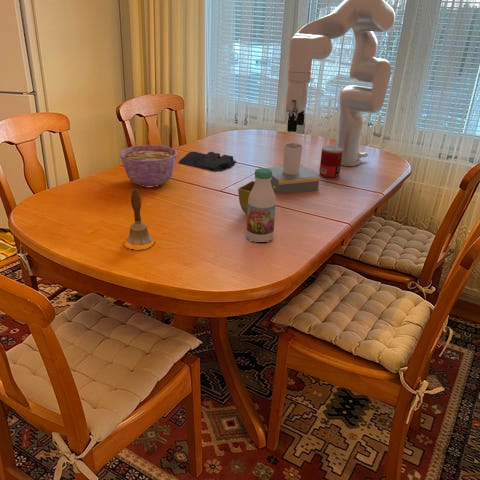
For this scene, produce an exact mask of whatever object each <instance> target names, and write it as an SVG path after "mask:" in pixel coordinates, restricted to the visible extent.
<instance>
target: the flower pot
mask: <svg viewBox="0 0 480 480" xmlns="http://www.w3.org/2000/svg"><path fill="white" fill-rule="evenodd" d="M254 184H255V181H254V180H251V181H249V182H248V183H246V184H243V185H241V186H240V187H238V188H237V194H238V201H239V205H240V208H241V210H242V211H243V213H244V214H245V215H247V209H248V198H249V194H250V192H251V190H252V188H253V186H254ZM271 186H272V185H271ZM272 189H273V191H274V193H276V192H275V186H272Z"/></svg>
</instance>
